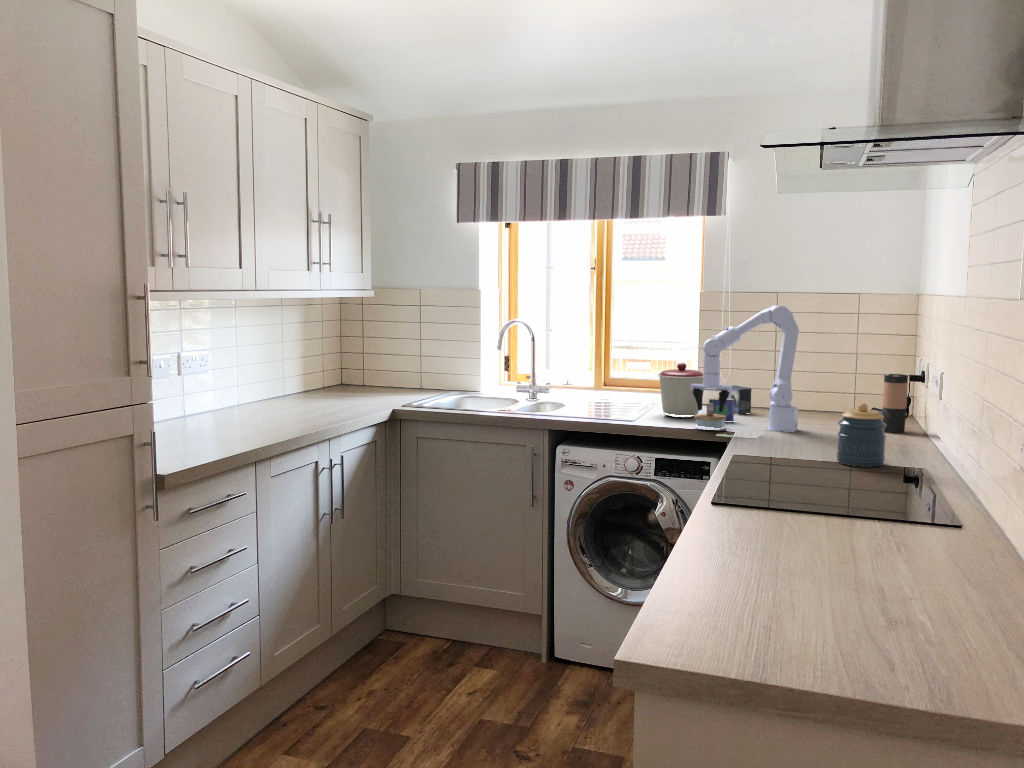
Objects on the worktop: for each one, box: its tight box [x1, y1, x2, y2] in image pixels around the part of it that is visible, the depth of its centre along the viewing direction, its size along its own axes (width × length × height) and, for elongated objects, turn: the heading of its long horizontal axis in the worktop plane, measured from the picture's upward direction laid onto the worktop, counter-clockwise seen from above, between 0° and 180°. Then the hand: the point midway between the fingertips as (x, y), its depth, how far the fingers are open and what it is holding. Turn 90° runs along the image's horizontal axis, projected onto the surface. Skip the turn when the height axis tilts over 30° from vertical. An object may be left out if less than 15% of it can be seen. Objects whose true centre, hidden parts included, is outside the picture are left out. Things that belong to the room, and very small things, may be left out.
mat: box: [715, 433, 734, 438], centre depth 297 cm, size 14×14×1 cm
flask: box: [708, 396, 735, 421], centre depth 322 cm, size 9×3×11 cm, turn 87°
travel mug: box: [881, 373, 909, 434], centre depth 301 cm, size 8×8×20 cm
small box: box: [727, 384, 752, 414], centre depth 345 cm, size 11×6×10 cm, turn 25°
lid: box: [693, 402, 726, 421], centre depth 308 cm, size 11×11×5 cm
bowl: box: [695, 419, 726, 428], centre depth 309 cm, size 10×10×4 cm
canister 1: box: [657, 362, 703, 415], centre depth 336 cm, size 18×18×21 cm
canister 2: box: [836, 402, 887, 468], centre depth 250 cm, size 13×13×18 cm
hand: (710, 410), depth 308 cm, fingers open, 7 cm apart
